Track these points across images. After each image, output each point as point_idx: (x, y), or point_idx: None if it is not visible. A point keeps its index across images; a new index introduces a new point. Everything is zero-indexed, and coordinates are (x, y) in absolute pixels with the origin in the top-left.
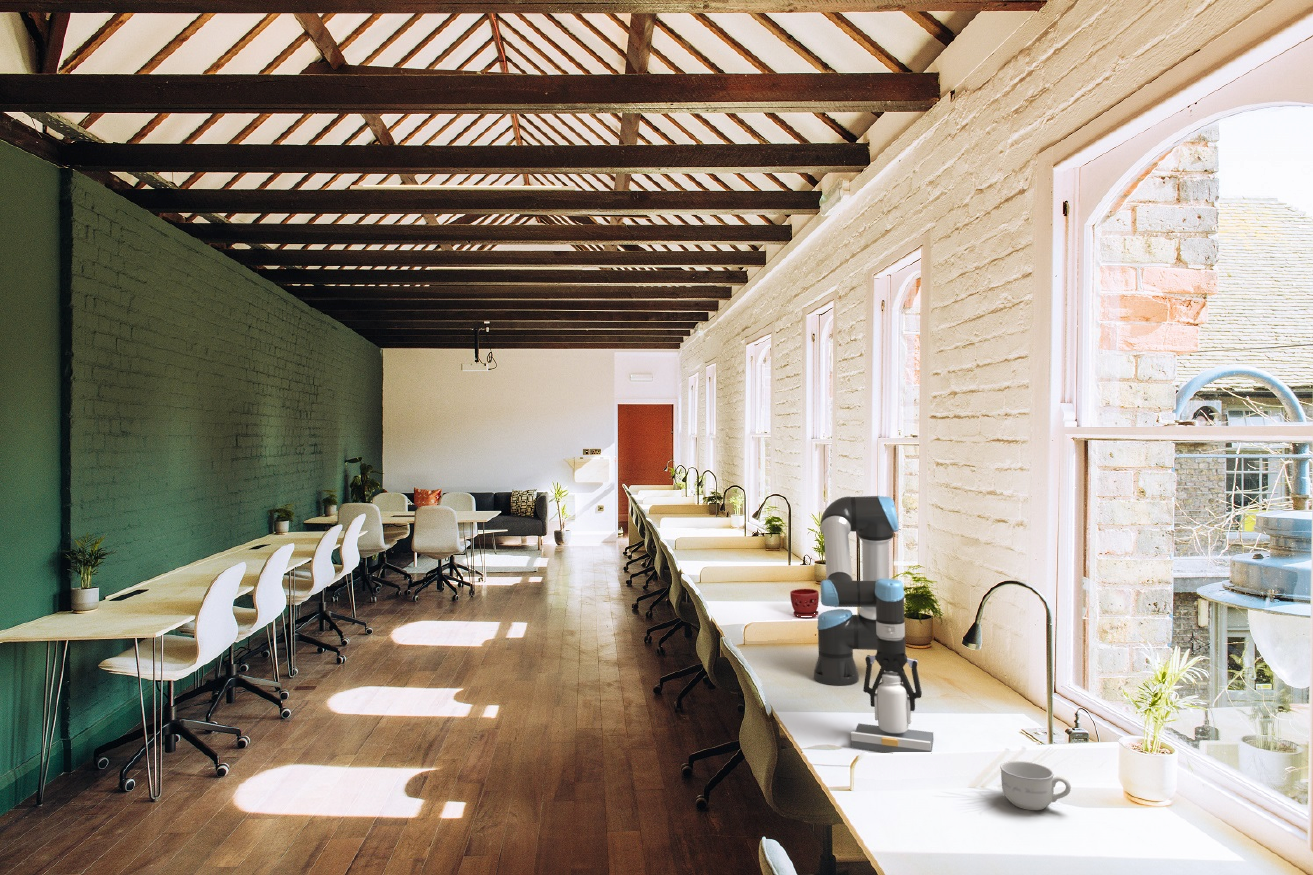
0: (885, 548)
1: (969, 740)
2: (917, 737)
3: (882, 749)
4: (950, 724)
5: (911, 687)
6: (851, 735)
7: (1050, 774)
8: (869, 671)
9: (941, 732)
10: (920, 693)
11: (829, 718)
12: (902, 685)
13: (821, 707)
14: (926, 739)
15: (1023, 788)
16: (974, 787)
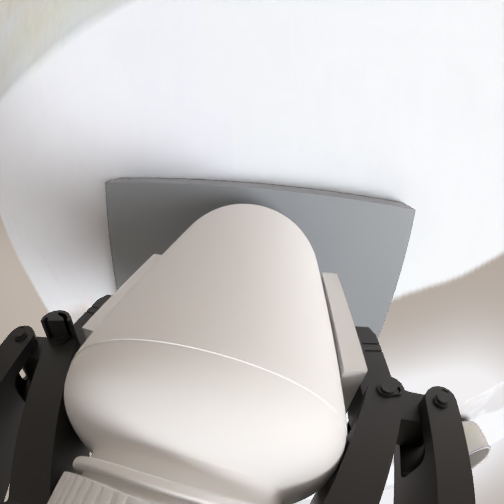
0: None
1: (496, 189)
2: (346, 278)
3: None
4: (456, 46)
5: (391, 450)
6: None
7: (482, 455)
8: (2, 488)
9: (434, 122)
10: (421, 454)
11: (41, 110)
12: (294, 500)
13: (29, 42)
14: (376, 289)
15: None
16: None
